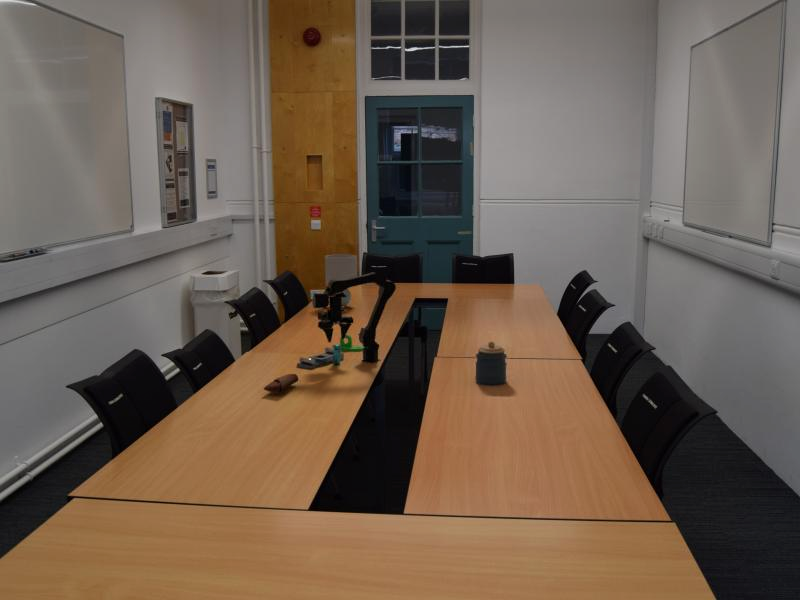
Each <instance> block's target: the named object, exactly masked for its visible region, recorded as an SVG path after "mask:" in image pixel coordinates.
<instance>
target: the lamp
mask: <svg viewBox="0 0 800 600" xmlns="http://www.w3.org/2000/svg"><path fill="white" fill-rule="evenodd" d="M357 262H358V256H357V255H356V254H329V255H325V256H324V265H325V267H324V268H325V269H324V270H325V271H324V272H325V285H326V286H328V283H329V281H330V280H332V279H348V278H352V277H357V276H358V274H357V273H358V266H357V265H358V263H357ZM342 292H343V293H344V294H345V295H346V297H342V307H343V306H346V307H347V306H349V304H350V303H351V301H352V293H351V291H350V289H349V288H348V289H346V290H344V291H342ZM336 294H338V293H336Z"/></svg>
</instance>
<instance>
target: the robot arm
mask: <svg viewBox="0 0 800 600" xmlns="http://www.w3.org/2000/svg"><path fill="white" fill-rule="evenodd" d="M368 283H374V284H375V285H377V286H378V287H379V288H378V293H377V295H378V297H377V300H376V302H375V304H374V308H373V310H372V312H371V313H370V314H371V315H370V317H369V320H368V322H367V325H366V326H365V327H361V328H360V331H359V333H358V341H359V343H360V344H362V347H365V348H363V351H362V360H361V362H364V363H371V364H374V363H376V362H379V361H381V359H379V348H380V344H379V343H378V342H377V341H376V337H377V328H378V325H379V322H380V320H381V317H382V316H383V313H384V310H385V307H386V306H387V302H388V301H389V300H390V298H391V297H392V296H393V294H394V293H395V291H396V289H397V286H396V284H395V283H394V281H392V280H388V279H385V278H384V277H382V276H380V275H379V274H377V273H376V272H369V273H366V274H361V275H357V277H352V278H348V279H332V280H330V281H329V283H328V285H327V287H326V288H325V290H324V291H323V292H322V293H319V292H317V293H316V292H314V293H313V296H312V300H311V301H312V308H313V309H325V308H326V309H327V311H326V312H323V311H322V312H318V313H317V320H319V322H318V323H317V327H318V328H319V329H320V330H322V331H323V332H324V334H325V337H326V340H327V342H328V343H332V339H333V334H334V328H333V327H334V325H338V326H339V327H340V338H342V339H344V340H345V339H346V338H345V335H346V334H347V333H348V332H349V329H350V327H351V326H352V325H353V324H354V318H353V317H352V316H348V315H344V316H343V312H345V308H342V297H346V295H345V294H344V293H343V292H342V291H344V290H346V289H348V290H349V289H350V288H352V287H357V286H361V285H365V284H368ZM336 293H338V294H336ZM328 306H329V308H328Z"/></svg>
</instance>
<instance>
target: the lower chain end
mask: <svg viewBox="0 0 800 600" xmlns="http://www.w3.org/2000/svg"><path fill="white" fill-rule="evenodd" d="M329 364H334V362H333V360H329V361H326V362H322V363H321V362H316V360H315V359H309V358H308V357H299V361H298V363H296V368H301V369H307V370H312V369H316V368H319V367H322V366H326V365H329Z"/></svg>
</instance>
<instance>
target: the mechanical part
mask: <svg viewBox="0 0 800 600" xmlns="http://www.w3.org/2000/svg"><path fill="white" fill-rule="evenodd" d="M345 339H347V342H345ZM339 342H340V343H339V345H341V348H340V350H341V352H361V351H362V352H363V348H365V347H363V346H357V345H356V346H355V345H353V338H352V336H351V334H350V335H349V334H347V333H346V335H345V338H344V339H342V338H341V337H340V338H339Z"/></svg>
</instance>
